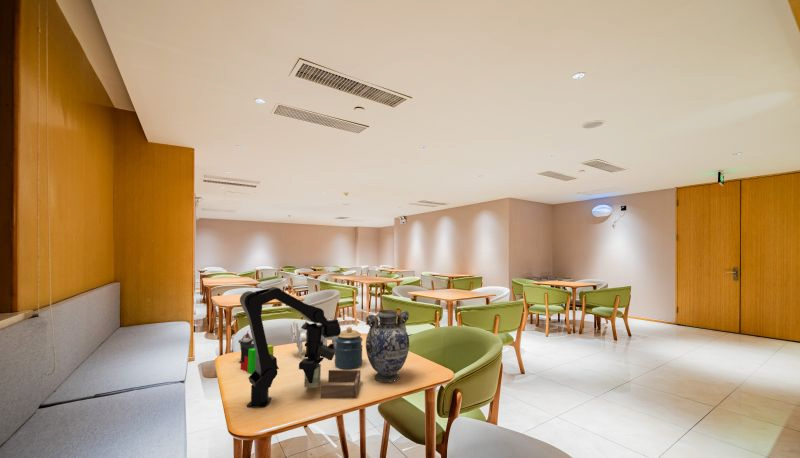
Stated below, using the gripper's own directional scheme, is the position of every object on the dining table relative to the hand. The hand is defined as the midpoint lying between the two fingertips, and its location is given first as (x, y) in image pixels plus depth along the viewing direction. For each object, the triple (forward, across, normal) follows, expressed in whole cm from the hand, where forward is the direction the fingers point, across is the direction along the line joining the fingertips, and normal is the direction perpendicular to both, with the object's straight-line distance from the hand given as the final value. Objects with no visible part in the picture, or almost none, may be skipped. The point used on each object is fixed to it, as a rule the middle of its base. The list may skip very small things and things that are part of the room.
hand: (312, 380), depth 131 cm
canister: (+3, +28, -10) cm, 30 cm away
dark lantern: (+4, +32, +40) cm, 51 cm away
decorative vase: (+3, +13, -29) cm, 32 cm away
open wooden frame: (+3, 0, -11) cm, 12 cm away
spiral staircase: (+4, +46, +9) cm, 47 cm away
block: (+2, 0, 0) cm, 2 cm away
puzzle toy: (+4, +23, +31) cm, 39 cm away
